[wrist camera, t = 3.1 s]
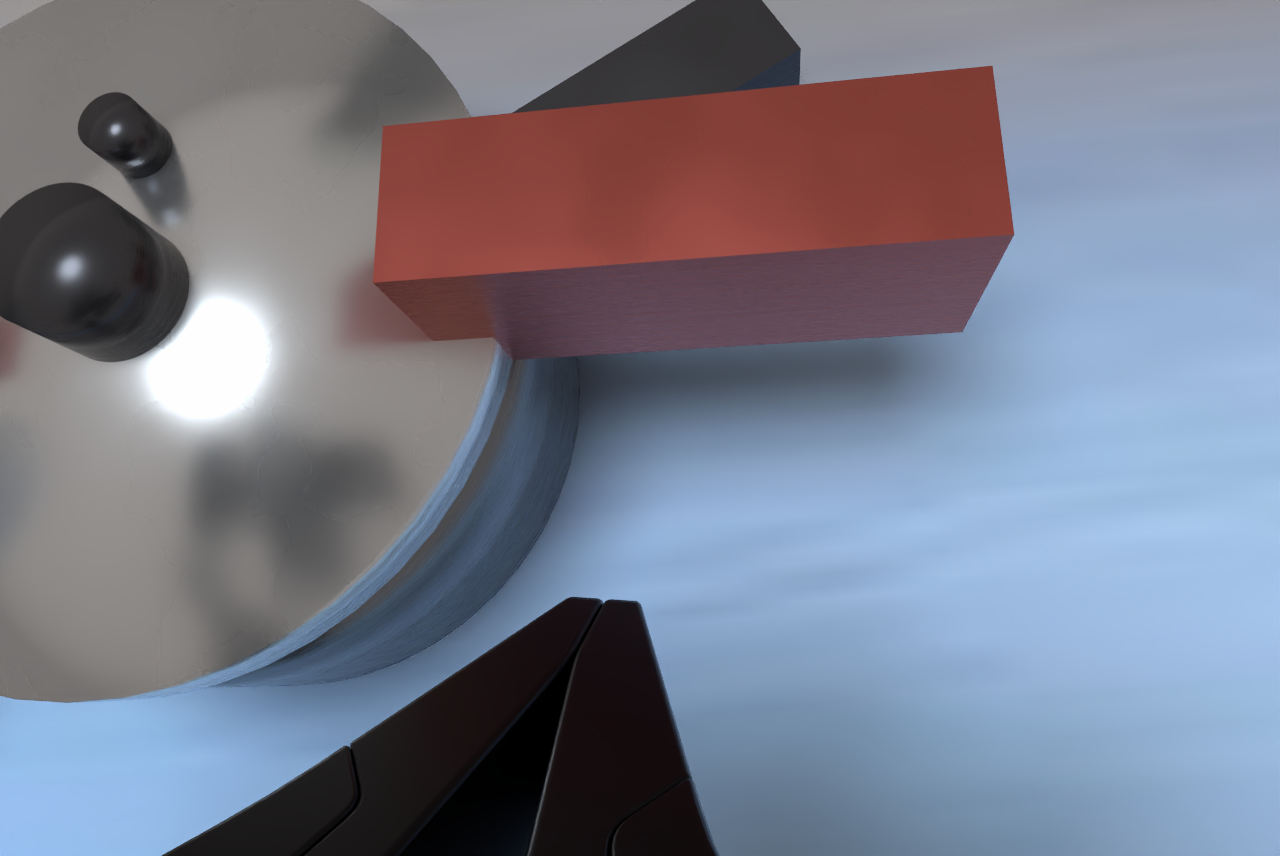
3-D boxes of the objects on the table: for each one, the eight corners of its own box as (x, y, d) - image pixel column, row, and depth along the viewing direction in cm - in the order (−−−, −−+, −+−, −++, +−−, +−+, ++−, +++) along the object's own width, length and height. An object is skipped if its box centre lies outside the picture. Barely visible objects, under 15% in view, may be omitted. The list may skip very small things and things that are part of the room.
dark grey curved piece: (930, 335, 23) (982, 218, 17) (91, 856, 22) (-149, 919, 16) (636, -50, 27) (597, -249, 21) (-76, 386, 26) (-315, 305, 21)
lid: (1001, 689, 14) (1073, 694, 11) (-345, 706, 18) (-623, 713, 14) (917, -78, 18) (950, -260, 15) (-184, 54, 22) (-373, -69, 18)
